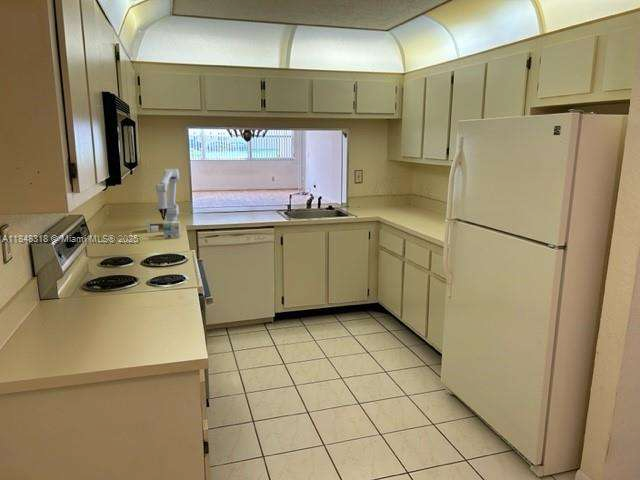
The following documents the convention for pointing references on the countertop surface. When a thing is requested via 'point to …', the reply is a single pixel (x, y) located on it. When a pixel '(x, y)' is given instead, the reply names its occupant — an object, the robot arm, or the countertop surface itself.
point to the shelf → (160, 227)
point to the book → (154, 229)
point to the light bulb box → (171, 229)
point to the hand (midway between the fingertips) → (163, 219)
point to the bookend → (148, 226)
